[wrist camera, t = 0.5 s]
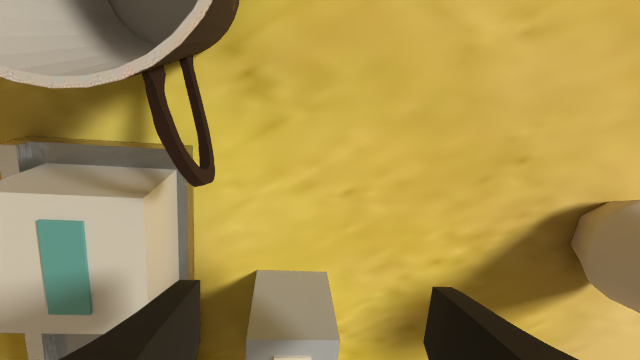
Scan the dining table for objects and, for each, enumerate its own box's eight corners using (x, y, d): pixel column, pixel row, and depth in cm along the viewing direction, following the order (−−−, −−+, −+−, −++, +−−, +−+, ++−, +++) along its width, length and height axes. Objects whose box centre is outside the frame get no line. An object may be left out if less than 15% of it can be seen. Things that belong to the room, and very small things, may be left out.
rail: (196, 472, 26) (188, 508, 23) (69, 475, 25) (48, 512, 23) (192, 145, 20) (181, 154, 18) (26, 136, 19) (-7, 144, 17)
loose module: (319, 358, 24) (329, 451, 18) (254, 357, 24) (242, 453, 18) (326, 271, 22) (340, 342, 17) (257, 269, 22) (245, 341, 16)
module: (179, 279, 20) (148, 337, 16) (59, 276, 20) (-8, 335, 15) (176, 169, 19) (141, 199, 14) (46, 162, 18) (-32, 191, 14)
